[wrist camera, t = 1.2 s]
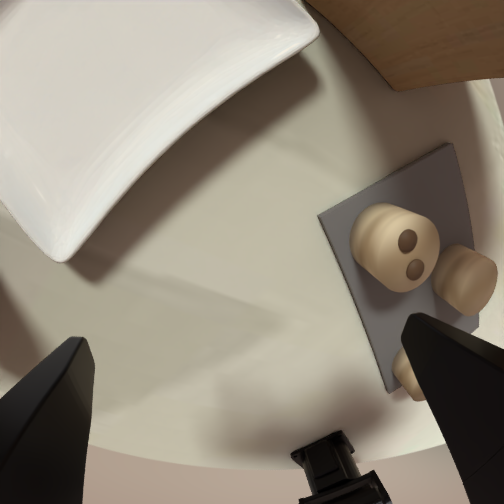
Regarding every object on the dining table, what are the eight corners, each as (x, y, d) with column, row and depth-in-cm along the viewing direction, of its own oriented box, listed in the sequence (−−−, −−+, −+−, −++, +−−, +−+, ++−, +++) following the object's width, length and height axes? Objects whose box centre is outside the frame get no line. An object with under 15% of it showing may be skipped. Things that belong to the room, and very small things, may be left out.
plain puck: (470, 277, 24) (497, 294, 20) (435, 305, 24) (461, 327, 20) (465, 233, 22) (496, 248, 18) (426, 262, 22) (457, 281, 18)
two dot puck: (412, 248, 21) (446, 267, 18) (362, 280, 22) (390, 307, 18) (395, 190, 20) (432, 201, 16) (338, 223, 20) (368, 242, 16)
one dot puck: (433, 357, 26) (455, 380, 22) (395, 383, 27) (414, 410, 23) (429, 326, 25) (454, 350, 21) (387, 355, 25) (409, 383, 21)
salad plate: (-51, 83, 12) (-75, 81, 9) (132, -93, 9) (126, -115, 6) (78, 256, 19) (59, 275, 16) (311, 48, 17) (330, 32, 13)
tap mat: (475, 324, 27) (478, 326, 26) (386, 390, 28) (389, 393, 27) (447, 142, 20) (452, 143, 19) (317, 215, 20) (320, 217, 20)
